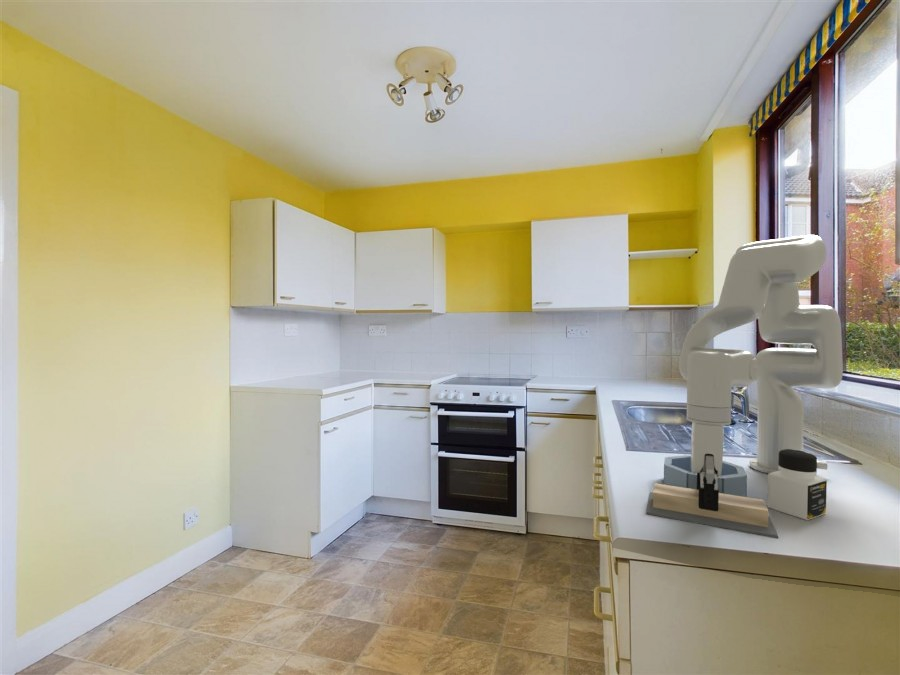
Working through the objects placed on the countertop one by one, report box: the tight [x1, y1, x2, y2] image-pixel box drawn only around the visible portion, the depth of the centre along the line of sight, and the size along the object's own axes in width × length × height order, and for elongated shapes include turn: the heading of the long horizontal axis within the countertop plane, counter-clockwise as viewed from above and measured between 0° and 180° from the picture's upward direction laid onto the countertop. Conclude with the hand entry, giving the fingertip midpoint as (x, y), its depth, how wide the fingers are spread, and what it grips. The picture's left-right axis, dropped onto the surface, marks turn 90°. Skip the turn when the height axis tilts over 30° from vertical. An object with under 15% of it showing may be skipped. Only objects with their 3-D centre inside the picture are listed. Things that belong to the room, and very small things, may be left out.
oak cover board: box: [652, 482, 770, 527], centre depth 87 cm, size 6×19×3 cm, turn 62°
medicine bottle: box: [767, 449, 828, 521], centre depth 88 cm, size 7×7×12 cm
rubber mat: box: [646, 491, 779, 539], centre depth 87 cm, size 21×12×1 cm, turn 62°
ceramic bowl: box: [663, 454, 748, 497], centre depth 101 cm, size 16×16×5 cm
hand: (706, 500), depth 87 cm, fingers open, 9 cm apart
